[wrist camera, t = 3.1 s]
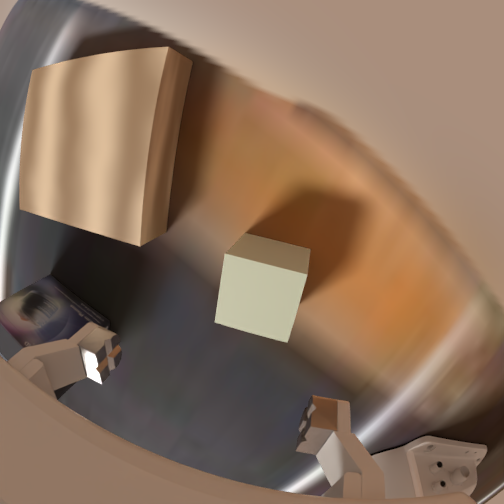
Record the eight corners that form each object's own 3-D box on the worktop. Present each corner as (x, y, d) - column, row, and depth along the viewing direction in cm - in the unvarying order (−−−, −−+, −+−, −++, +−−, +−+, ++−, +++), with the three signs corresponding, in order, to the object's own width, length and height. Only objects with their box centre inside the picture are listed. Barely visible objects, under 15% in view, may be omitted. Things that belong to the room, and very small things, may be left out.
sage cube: (310, 248, 22) (307, 274, 17) (294, 306, 23) (287, 342, 19) (245, 232, 22) (225, 253, 18) (234, 290, 24) (214, 322, 19)
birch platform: (193, 61, 19) (168, 46, 15) (166, 232, 24) (140, 246, 20) (60, 73, 21) (32, 70, 17) (46, 201, 26) (19, 209, 22)
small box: (112, 318, 29) (49, 373, 19) (107, 355, 31) (54, 408, 21) (49, 270, 29) (-15, 306, 19) (49, 309, 32) (-6, 348, 22)
